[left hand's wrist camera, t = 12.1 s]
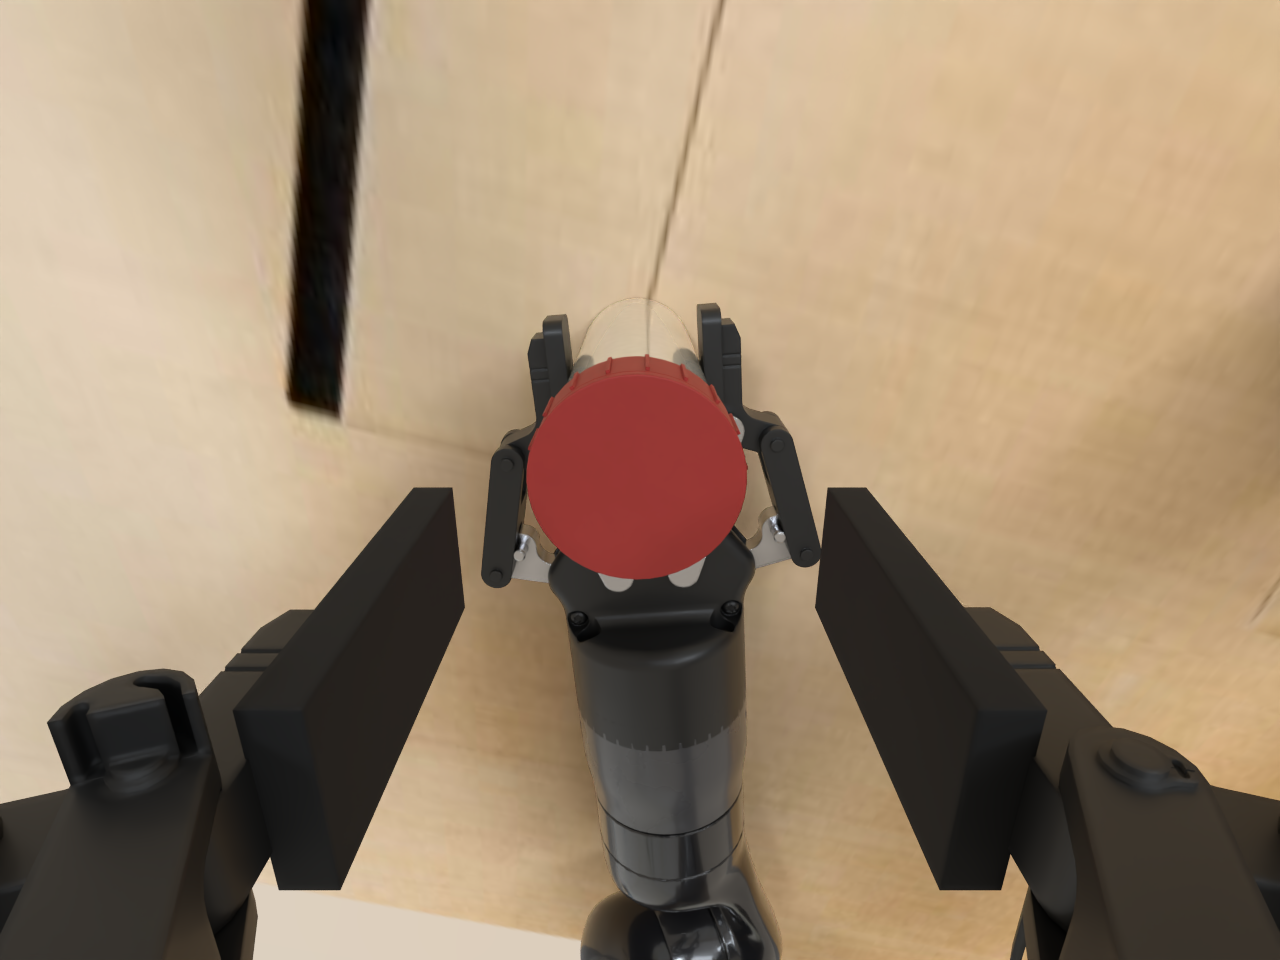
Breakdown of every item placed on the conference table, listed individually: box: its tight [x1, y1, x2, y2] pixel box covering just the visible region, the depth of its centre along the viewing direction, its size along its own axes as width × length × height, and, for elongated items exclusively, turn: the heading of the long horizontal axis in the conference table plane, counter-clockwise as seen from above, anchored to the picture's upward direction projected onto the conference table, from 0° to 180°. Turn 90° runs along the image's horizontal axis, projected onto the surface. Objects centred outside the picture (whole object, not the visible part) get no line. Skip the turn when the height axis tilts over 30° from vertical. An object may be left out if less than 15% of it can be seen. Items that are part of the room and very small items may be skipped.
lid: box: [526, 354, 748, 579], centre depth 18 cm, size 6×6×2 cm
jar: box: [567, 298, 707, 383], centre depth 25 cm, size 5×5×16 cm
